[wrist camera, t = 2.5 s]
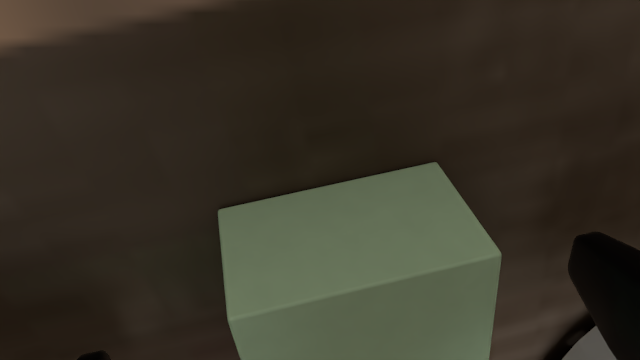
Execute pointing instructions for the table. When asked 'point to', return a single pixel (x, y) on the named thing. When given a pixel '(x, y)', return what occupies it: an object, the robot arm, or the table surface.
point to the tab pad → (361, 272)
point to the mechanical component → (590, 348)
